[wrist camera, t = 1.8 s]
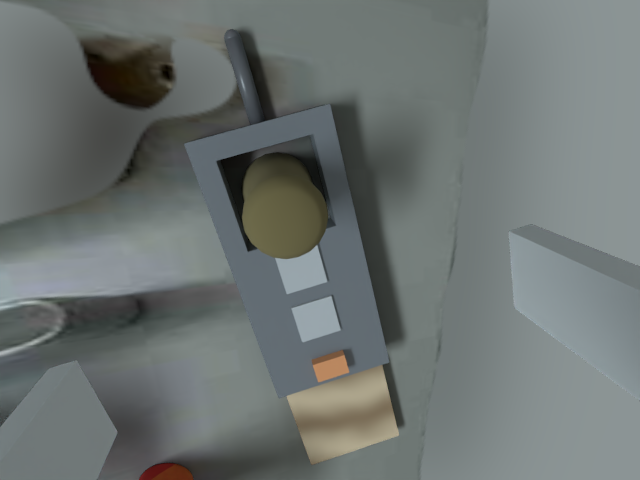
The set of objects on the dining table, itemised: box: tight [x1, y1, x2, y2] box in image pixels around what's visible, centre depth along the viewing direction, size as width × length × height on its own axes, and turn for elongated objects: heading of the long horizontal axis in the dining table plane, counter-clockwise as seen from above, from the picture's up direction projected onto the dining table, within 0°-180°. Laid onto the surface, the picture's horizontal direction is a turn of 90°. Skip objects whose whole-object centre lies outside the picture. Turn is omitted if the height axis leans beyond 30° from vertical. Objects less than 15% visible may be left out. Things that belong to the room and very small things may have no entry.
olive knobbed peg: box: [241, 152, 328, 259], centre depth 26 cm, size 6×6×11 cm
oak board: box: [287, 365, 399, 465], centre depth 39 cm, size 10×10×1 cm
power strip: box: [184, 29, 389, 398], centre depth 31 cm, size 31×11×3 cm, turn 15°
